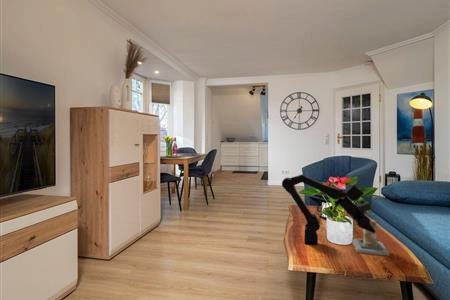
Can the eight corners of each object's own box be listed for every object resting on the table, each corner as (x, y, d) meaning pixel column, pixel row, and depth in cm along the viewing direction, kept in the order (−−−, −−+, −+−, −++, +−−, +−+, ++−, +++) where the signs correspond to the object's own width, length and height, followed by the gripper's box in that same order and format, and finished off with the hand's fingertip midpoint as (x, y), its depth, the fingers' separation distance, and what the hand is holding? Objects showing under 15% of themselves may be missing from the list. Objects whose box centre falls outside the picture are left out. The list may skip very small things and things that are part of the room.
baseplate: (357, 252, 125) (357, 247, 125) (352, 241, 138) (352, 237, 138) (389, 255, 121) (389, 250, 120) (381, 244, 134) (381, 239, 134)
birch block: (365, 246, 128) (365, 221, 128) (363, 242, 133) (363, 218, 132) (376, 247, 126) (376, 222, 126) (373, 244, 131) (373, 219, 131)
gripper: (365, 200, 121) (391, 225, 118) (357, 193, 139) (379, 214, 136) (347, 215, 124) (372, 239, 121) (342, 206, 141) (363, 227, 138)
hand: (372, 229), depth 129 cm, fingers open, 9 cm apart
